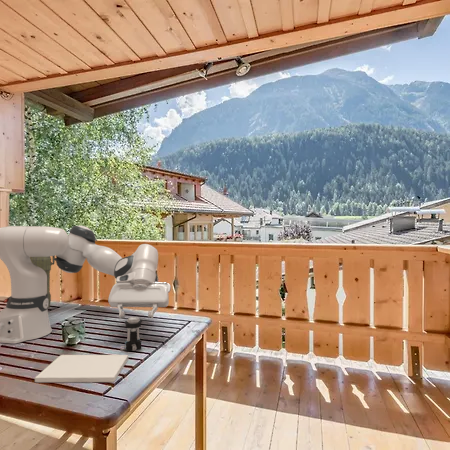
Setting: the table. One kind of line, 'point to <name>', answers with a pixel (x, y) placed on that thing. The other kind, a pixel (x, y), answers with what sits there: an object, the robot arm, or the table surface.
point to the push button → (133, 334)
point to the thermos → (46, 266)
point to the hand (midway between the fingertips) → (135, 317)
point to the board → (83, 368)
